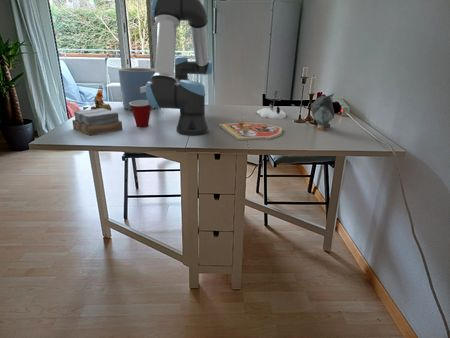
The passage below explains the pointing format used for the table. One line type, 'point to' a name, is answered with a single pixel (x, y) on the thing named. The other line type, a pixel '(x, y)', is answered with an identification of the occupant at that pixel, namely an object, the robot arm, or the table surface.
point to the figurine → (272, 110)
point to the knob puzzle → (251, 130)
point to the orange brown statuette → (100, 101)
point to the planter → (134, 84)
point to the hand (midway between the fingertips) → (152, 91)
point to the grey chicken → (322, 111)
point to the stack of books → (96, 121)
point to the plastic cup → (141, 112)
